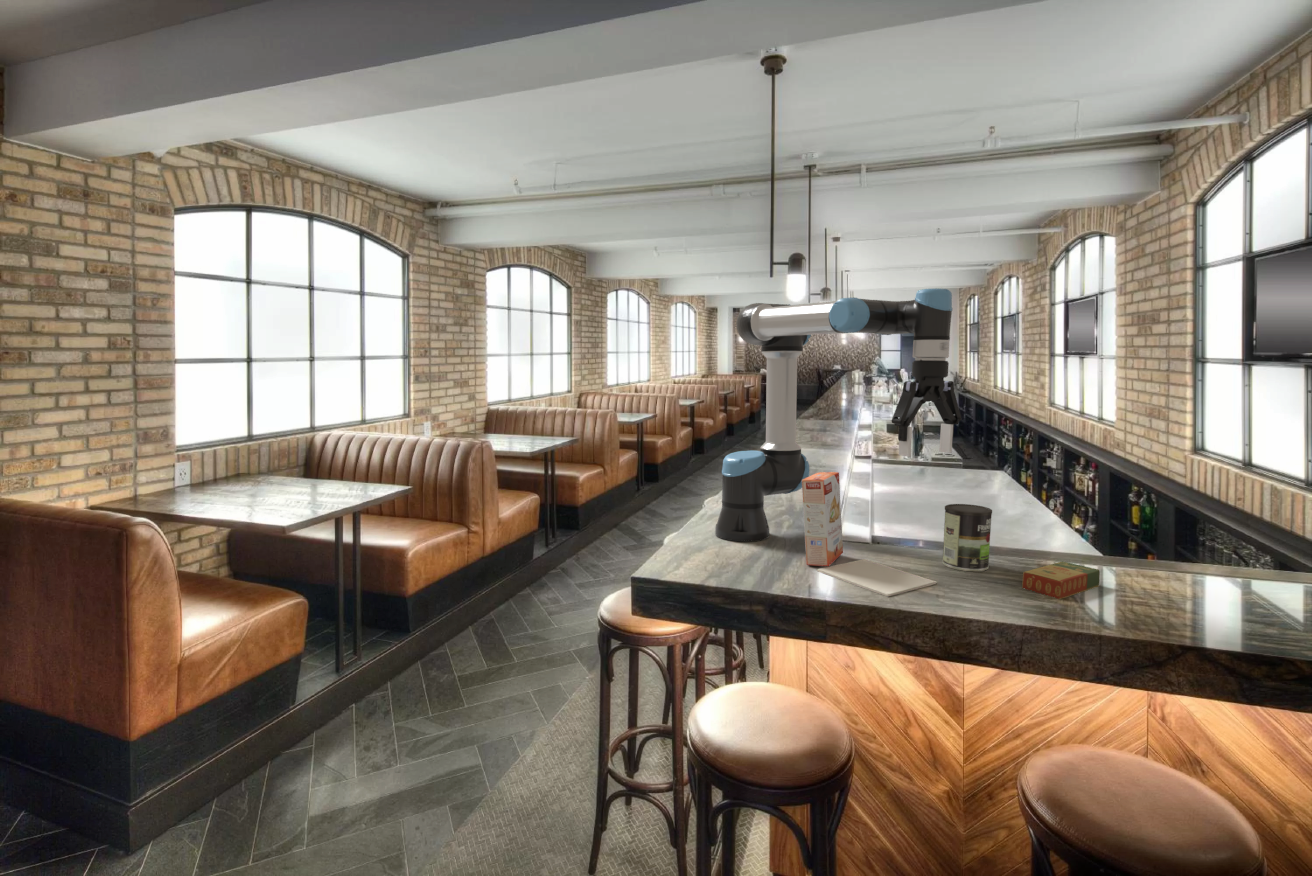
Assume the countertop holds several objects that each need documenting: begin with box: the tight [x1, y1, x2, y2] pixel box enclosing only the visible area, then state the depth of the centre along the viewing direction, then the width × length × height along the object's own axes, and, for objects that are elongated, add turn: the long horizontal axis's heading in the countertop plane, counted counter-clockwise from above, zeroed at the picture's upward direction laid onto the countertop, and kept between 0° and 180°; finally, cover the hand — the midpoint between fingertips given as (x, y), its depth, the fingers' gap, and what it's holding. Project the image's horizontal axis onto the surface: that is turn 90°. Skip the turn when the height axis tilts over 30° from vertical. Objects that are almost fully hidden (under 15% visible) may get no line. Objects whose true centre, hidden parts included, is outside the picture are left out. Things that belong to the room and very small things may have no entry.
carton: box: [1021, 560, 1101, 600], centre depth 145 cm, size 8×16×4 cm, turn 122°
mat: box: [816, 558, 937, 597], centre depth 151 cm, size 20×16×1 cm
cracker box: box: [801, 471, 844, 567], centre depth 163 cm, size 14×6×21 cm, turn 151°
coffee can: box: [942, 503, 993, 573], centre depth 160 cm, size 10×10×14 cm
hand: (925, 454), depth 151 cm, fingers open, 13 cm apart
